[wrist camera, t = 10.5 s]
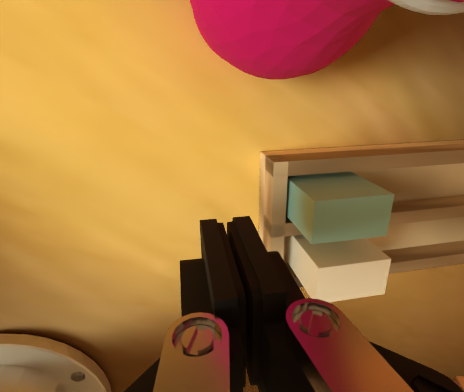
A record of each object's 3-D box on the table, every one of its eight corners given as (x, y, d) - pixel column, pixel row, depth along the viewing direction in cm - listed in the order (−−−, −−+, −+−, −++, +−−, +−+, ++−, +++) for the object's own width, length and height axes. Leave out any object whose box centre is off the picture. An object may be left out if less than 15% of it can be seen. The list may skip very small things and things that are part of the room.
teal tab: (341, 202, 20) (386, 235, 16) (280, 208, 19) (310, 244, 15) (345, 168, 19) (394, 194, 15) (281, 173, 18) (314, 201, 14)
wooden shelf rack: (481, 239, 25) (515, 257, 22) (258, 267, 21) (269, 291, 19) (513, 136, 22) (556, 144, 19) (260, 151, 19) (274, 162, 16)
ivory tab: (342, 252, 21) (384, 294, 17) (285, 259, 20) (315, 304, 16) (346, 222, 20) (391, 258, 16) (287, 228, 20) (318, 268, 16)
